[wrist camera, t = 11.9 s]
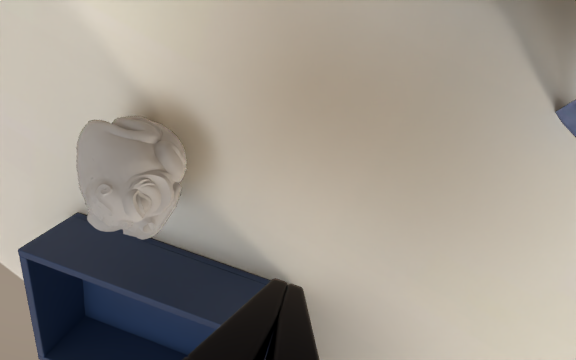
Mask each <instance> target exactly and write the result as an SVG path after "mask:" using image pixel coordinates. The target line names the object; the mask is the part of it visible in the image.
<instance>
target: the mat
mask: <svg viewBox="0 0 576 360" xmlns="http://www.w3.org/2000/svg"><path fill="white" fill-rule="evenodd" d="M555 113H556V114H557V116H558V117H559V119H560V120H561V122H562V123H563V124H564V125H565V126H566V127H567V128H568V130H569V131H570V132H571V133H572V134H573V135H574V136H575V137H576V100H574V101H572V102H571V103H569V104H567V105H566V106H564V107H563V108H561V109H559V110H558V111H556V112H555Z"/></svg>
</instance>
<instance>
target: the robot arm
mask: <svg viewBox="0 0 576 360" xmlns="http://www.w3.org/2000/svg"><path fill="white" fill-rule="evenodd" d="M287 285H288V286H287ZM284 295H285V296H284ZM272 334H273V335H272ZM271 337H272V338H271ZM268 347H269V348H268ZM267 350H268V351H267ZM265 357H266V358H265ZM182 360H319V356H318V352H317V347H316V343H315V339H314V335H313V330H312V326H311V322H310V317H309V313H308V309H307V304H306V300H305V296H304V291H303V289H302V287H299V286H297V285H294V284H287V282H285V281H282V280H279V279H276V278H275V279H273V280H272V281H270V282H269V283H268V284H267V285H266V286H265V287H264V288H263V289H261V290H260V291H259V292H258V293H257V294H256V295H255V296H254V297H252V298H251V299H250V300H249V301H248V302H247V303H246V304H245V305H243V306H242V307H241V308H240V309H239V310H238V311H237V312H236V313H234V314H233V315H232V316H231V317H230V318H229V319H228V320H227V321H225V322H224V323H223V324H222V325H221V326H220V327H219V328H218V329H216V330H215V331H214V332H213V333H212V334H211V335H210V336H209V337H207V338H206V339H205V340H204V341H203V342H202V343H201V344H200V345H198V346H197V347H196V348H195V349H194V350H193V351H192V352H191V353H189V354H188V357H185V358H184V359H182Z"/></svg>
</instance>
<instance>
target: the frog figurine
mask: <svg viewBox="0 0 576 360" xmlns="http://www.w3.org/2000/svg"><path fill="white" fill-rule="evenodd" d="M186 163H187V160H186V154H185V150H184V147H183V145H182V143H181V141H180V140H179V139H178V137H177V136H176V135H175V134H174V133H173V132H172V131H171V130H169V129H168V128H167V127H165V126H163V125H161V124H159V123H156V122H153V121H150V120H148V119H146V118H144V117H142V116H128V117H121V118H117V119H115V120H114V122H113V123H112V124H111V123H109V122H106V121H102V120H91V121H89V122H88V124H86V125H85V127H84V128H83V129H82V131H81V133H80V135H79V138H78V141H77V172H78V181H79V186H80V190H81V192H82V195H83V197H84V199H85V204H86V206H87V208H88V210H89V212H88V216H87V220H88V222H89V223H90V224H91V225H92V226H93V227H94V228H95V229H97V230H100V231H104V232H113V231H117V230H120V229H123V234H126V235H129V236H133V237H137V238H139V239H142V240H143V239H148V238H151V237H153V236H154V235H156V234H157V233H158V232H159V231H160V230H161V228H162V227H163V225H164V224H165V223H166V221H167V220H168V218H169V217H170V215H171V213H172V212H173V210H174V209H175V207H176V205H177V203H178V200H179V197H180V196H181V194H180V192H181V190H182V187H181V185H180V184H179V183H180V182H181V180H182V179H183V177H184V174H185V170H187V167H186Z"/></svg>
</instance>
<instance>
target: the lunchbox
mask: <svg viewBox="0 0 576 360" xmlns="http://www.w3.org/2000/svg"><path fill="white" fill-rule="evenodd" d="M18 253H19V257H20V263H21V268H22V273H23V278H24V284H25V289H26V294H27V299H28V305H29V310H30V315H31V320H32V326H33V331H34V336H35V341H36V346H37V352H38V357H39V359H40V360H182V359H184V358H185V357H188V354H189V353H191V352H192V351H193V350H194V349H195V348H196V347H197V346H198V345H200V344H201V343H202V342H203V341H204V340H205V339H206V338H207V337H209V336H210V335H211V334H212V333H213V332H214V331H215V330H216V329H218V328H219V327H220V326H221V325H222V324H223V323H224V322H225V321H227V320H228V319H229V318H230V317H231V316H232V315H233V314H234V313H236V312H237V311H238V310H239V309H240V308H241V307H242V306H243V305H245V304H246V303H247V302H248V301H249V300H250V299H251V298H252V297H254V296H255V295H256V294H257V293H258V292H259V291H260V290H261V289H263V288H264V287H265V286H266V285H267V284H268V283H269V282H270V280H268V279H265V278H262V277H259V276H256V275H253V274H251V273H248V272H245V271H242V270H239V269H236V268H234V267H231V266H228V265H225V264H222V263H219V262H217V261H214V260H211V259H208V258H205V257H202V256H200V255H197V254H194V253H191V252H188V251H185V250H182V249H180V248H177V247H174V246H171V245H168V244H165V243H163V242H160V241H157V240H154V239H151V238H148V239H143V240H142V239H139V238H137V237H133V236H129V235H126V234H123V229H120V230H117V231H113V232H104V231H100V230H97V229H95V228H94V227H93V226H92V225H91V224H90V223H89V222H88V220H87V216H86V215H83V214H80V213H76V214H74V215H73V216H71V217H69V218H68V219H66V220H65V221H63V222H61V223H60V224H58V225H56V226H55V227H53V228H52V229H50V230H48V231H47V232H45V233H44V234H42V235H40V236H39V237H37V238H36V239H34V240H32V241H31V242H29V243H27V244H26V245H24V246H23V247H21V248H19V249H18ZM284 296H285V295H284ZM272 335H273V334H272ZM271 338H272V337H271ZM268 348H269V347H268ZM267 351H268V350H267ZM265 358H266V357H265Z"/></svg>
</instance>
